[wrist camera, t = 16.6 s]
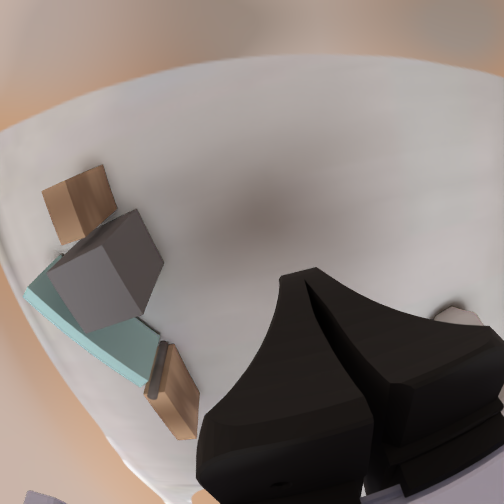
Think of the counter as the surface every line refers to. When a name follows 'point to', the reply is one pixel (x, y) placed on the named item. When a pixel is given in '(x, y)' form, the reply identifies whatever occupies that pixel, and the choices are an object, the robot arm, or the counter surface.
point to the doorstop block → (108, 273)
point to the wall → (167, 357)
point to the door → (99, 333)
